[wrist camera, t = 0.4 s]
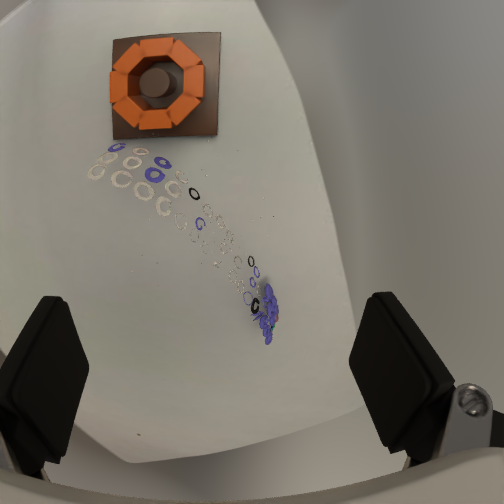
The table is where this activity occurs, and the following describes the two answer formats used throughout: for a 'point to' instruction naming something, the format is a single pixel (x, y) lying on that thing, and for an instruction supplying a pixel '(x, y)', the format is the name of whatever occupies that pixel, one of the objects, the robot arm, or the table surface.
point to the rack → (174, 87)
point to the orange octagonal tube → (137, 63)
